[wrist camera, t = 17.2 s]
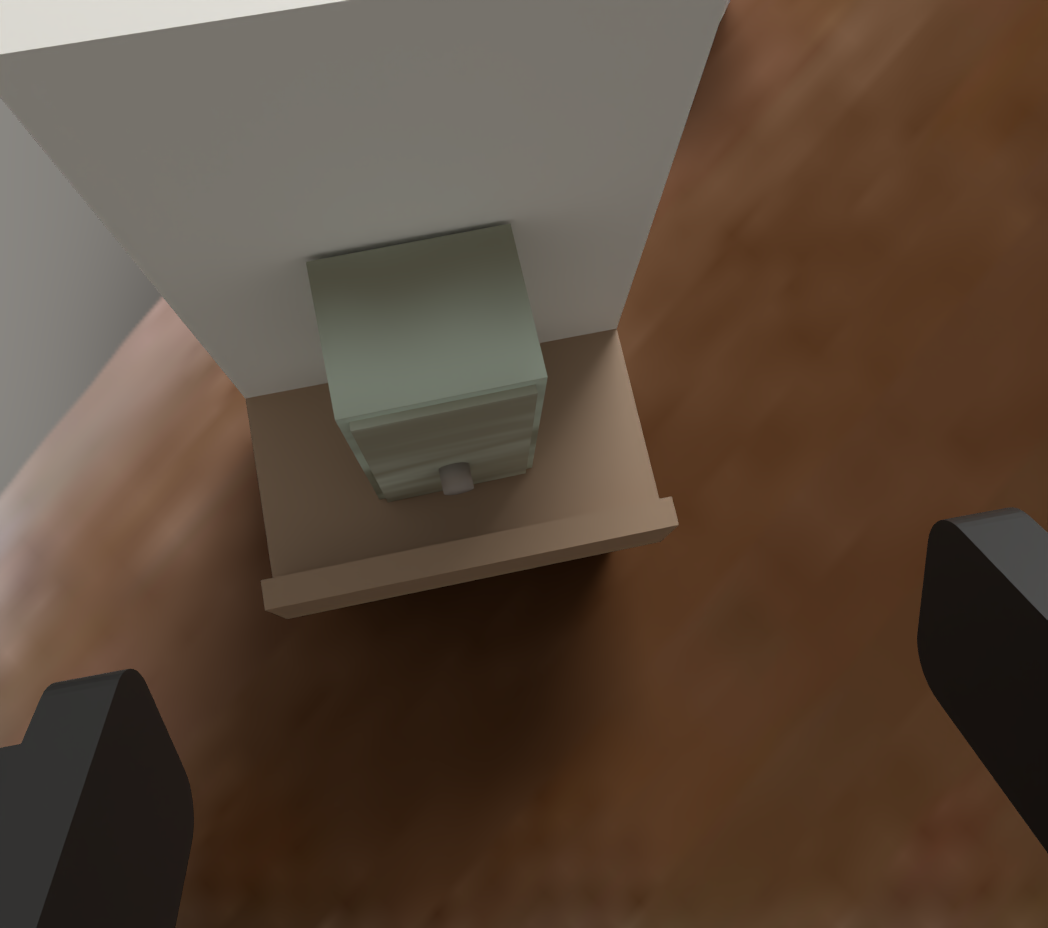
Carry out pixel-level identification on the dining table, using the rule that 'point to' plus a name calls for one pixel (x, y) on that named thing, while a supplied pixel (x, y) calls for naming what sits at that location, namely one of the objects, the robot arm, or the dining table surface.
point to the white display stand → (381, 231)
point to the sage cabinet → (432, 361)
